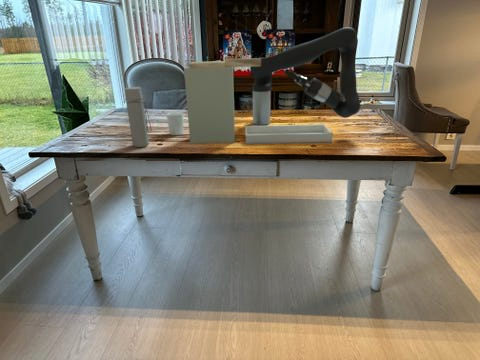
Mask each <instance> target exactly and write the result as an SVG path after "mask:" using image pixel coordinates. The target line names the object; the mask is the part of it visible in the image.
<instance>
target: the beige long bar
mask: <svg viewBox="0 0 480 360" xmlns="http://www.w3.org/2000/svg"><path fill="white" fill-rule="evenodd" d="M261 58H262V57H258V58H253V57H252V58H226V59H224V60H221V61H220V60H219V61H191V62H189V63H188V67H189V68H225V67H233V68H245V67H246V68H247V67H248V68H251V67H253V66H261Z"/></svg>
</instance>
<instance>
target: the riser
mask: <svg viewBox="0 0 480 360" xmlns="http://www.w3.org/2000/svg"><path fill="white" fill-rule="evenodd" d="M183 74H184V88H185V97H186V108H187V109H186V110H187V122H188V133H189V143H190V144H218V143H219V144H220V143H221V144H223V143H236V142H235V141H236V139H235V138H236V127H235V126H236V125H235V95H234V93H235V91H234V67H225V68H189V66H187V67H184V68H183Z"/></svg>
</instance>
